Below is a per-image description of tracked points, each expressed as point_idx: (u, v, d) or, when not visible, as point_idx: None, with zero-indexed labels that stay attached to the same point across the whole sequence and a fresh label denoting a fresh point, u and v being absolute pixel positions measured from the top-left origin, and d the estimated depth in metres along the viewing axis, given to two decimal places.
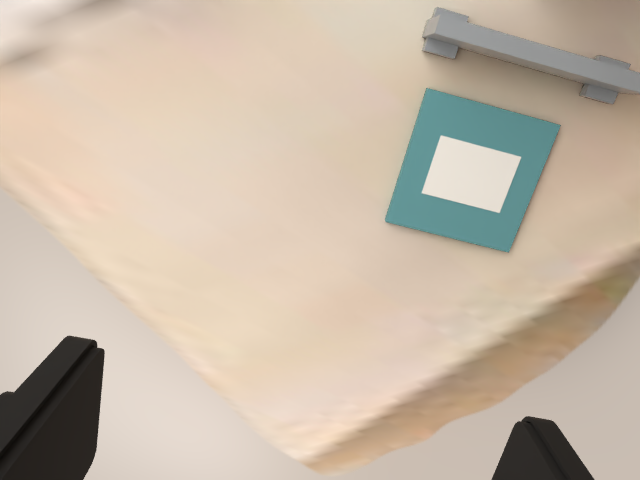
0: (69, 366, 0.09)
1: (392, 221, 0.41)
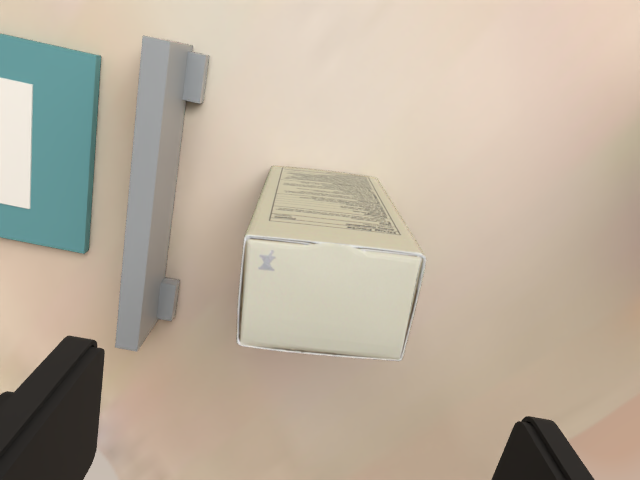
0: (69, 366, 0.09)
1: None
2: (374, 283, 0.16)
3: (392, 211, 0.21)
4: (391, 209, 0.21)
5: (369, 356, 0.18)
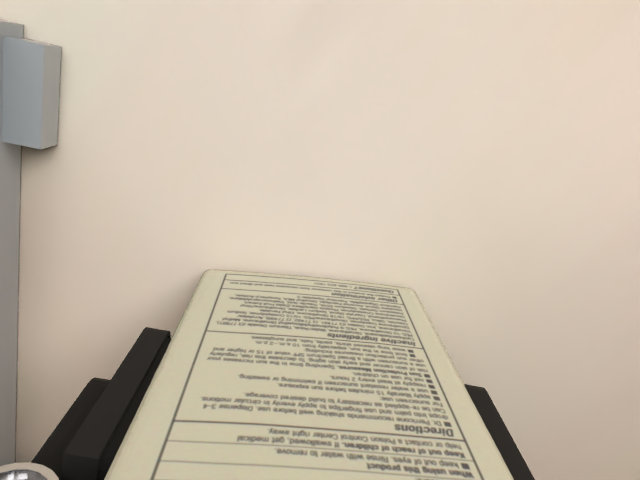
0: (153, 354, 0.10)
1: None
2: None
3: None
4: (492, 467, 0.08)
5: None
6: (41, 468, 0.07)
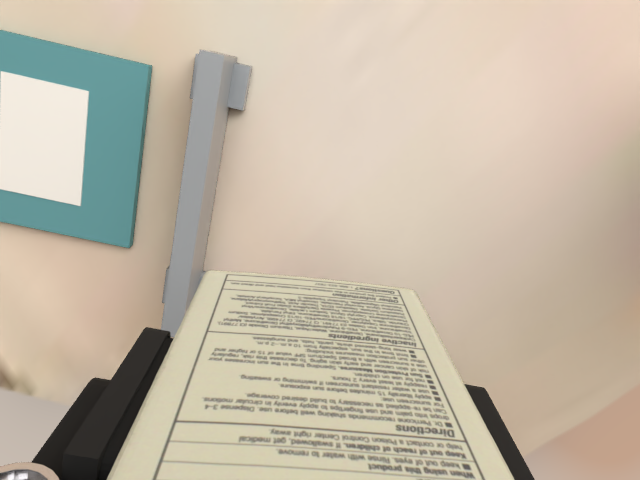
0: (154, 354, 0.10)
1: None
2: None
3: None
4: (493, 467, 0.08)
5: None
6: (41, 468, 0.07)
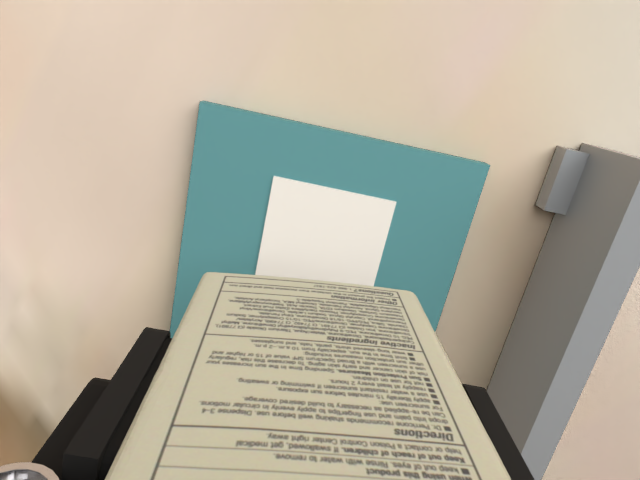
0: (154, 354, 0.10)
1: (202, 117, 0.18)
2: None
3: None
4: (492, 472, 0.08)
5: None
6: (41, 468, 0.07)
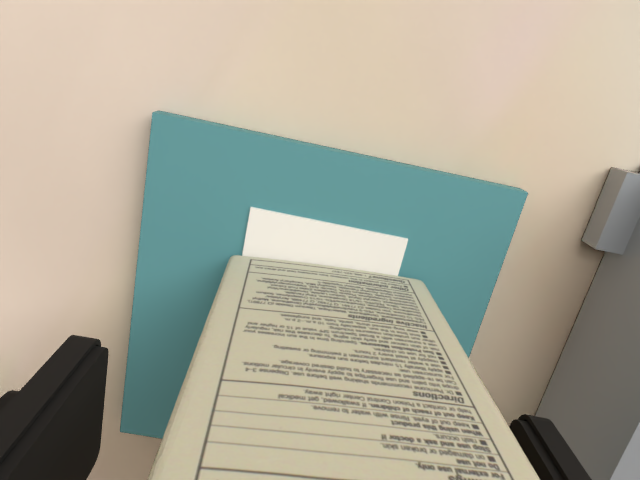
0: (74, 365, 0.09)
1: (156, 132, 0.14)
2: None
3: (505, 441, 0.08)
4: (498, 428, 0.09)
5: None
6: None
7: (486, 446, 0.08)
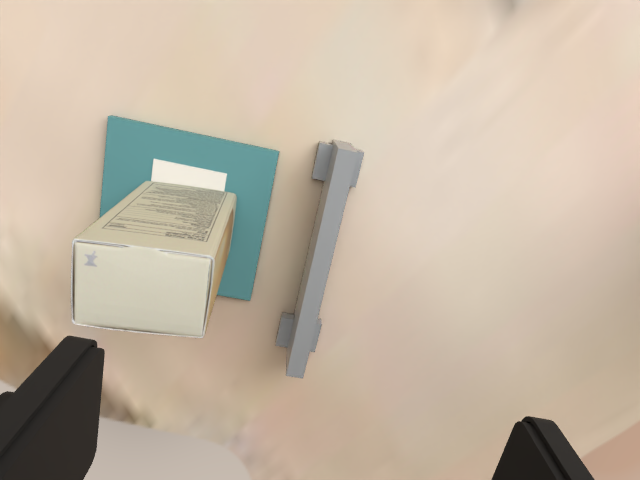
0: (69, 366, 0.09)
1: (110, 124, 0.31)
2: (176, 278, 0.22)
3: (219, 222, 0.26)
4: (220, 221, 0.27)
5: (178, 334, 0.23)
6: None
7: (210, 222, 0.26)
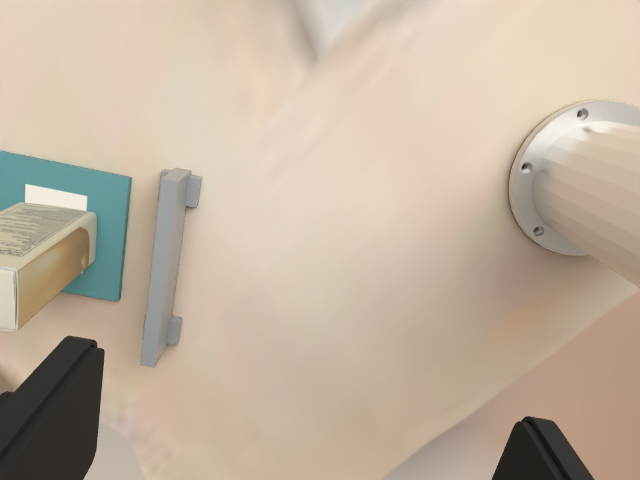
0: (69, 366, 0.09)
1: None
2: None
3: (50, 240, 0.33)
4: (52, 238, 0.33)
5: None
6: None
7: (42, 240, 0.33)
